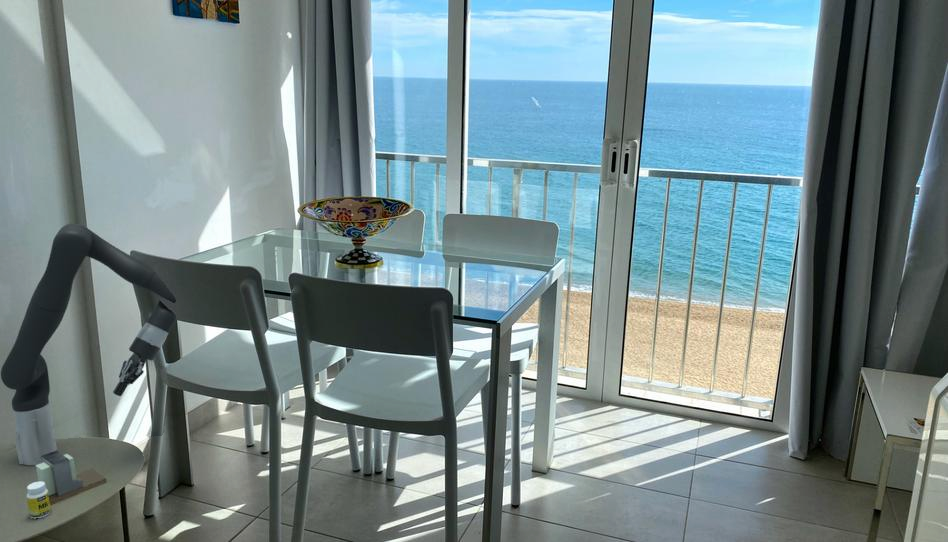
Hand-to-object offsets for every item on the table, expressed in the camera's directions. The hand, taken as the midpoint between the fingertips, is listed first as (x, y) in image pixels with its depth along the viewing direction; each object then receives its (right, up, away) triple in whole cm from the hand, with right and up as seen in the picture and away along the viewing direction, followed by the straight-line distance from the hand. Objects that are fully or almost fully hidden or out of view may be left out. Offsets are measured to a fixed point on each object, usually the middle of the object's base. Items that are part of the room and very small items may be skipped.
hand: (116, 394), depth 204 cm
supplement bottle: (-9, -28, -20) cm, 36 cm away
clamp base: (-9, -25, -8) cm, 28 cm away
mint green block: (-10, -24, -11) cm, 28 cm away
